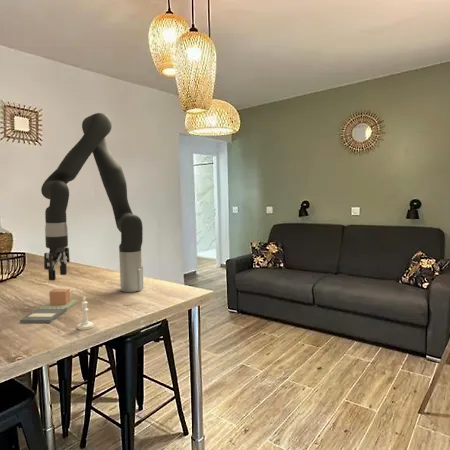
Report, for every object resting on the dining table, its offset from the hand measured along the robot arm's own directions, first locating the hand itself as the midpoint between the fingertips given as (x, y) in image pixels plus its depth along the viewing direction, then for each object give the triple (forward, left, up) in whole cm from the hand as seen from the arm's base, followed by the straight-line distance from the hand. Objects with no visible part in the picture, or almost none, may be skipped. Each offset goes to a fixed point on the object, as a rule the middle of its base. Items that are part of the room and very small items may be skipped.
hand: (58, 277), depth 132 cm
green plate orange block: (0, +1, -11) cm, 11 cm away
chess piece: (-18, +20, -11) cm, 30 cm away
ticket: (0, +11, -11) cm, 16 cm away
